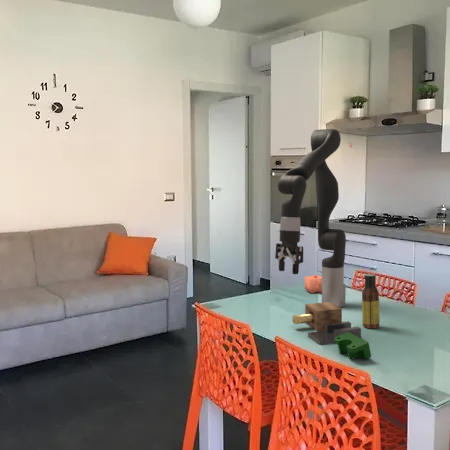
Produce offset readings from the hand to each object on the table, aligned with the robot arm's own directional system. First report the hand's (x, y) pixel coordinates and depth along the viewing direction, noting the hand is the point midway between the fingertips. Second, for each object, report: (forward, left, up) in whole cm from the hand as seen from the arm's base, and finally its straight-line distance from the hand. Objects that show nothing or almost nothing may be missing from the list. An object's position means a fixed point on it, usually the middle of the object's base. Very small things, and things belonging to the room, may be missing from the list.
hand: (288, 272), depth 194 cm
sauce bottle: (-29, +11, -21) cm, 37 cm away
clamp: (-7, +34, -21) cm, 41 cm away
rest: (-10, +18, -21) cm, 29 cm away
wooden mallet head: (-13, +4, -21) cm, 25 cm away
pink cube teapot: (-34, -45, -21) cm, 60 cm away
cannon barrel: (-9, +4, -19) cm, 21 cm away
